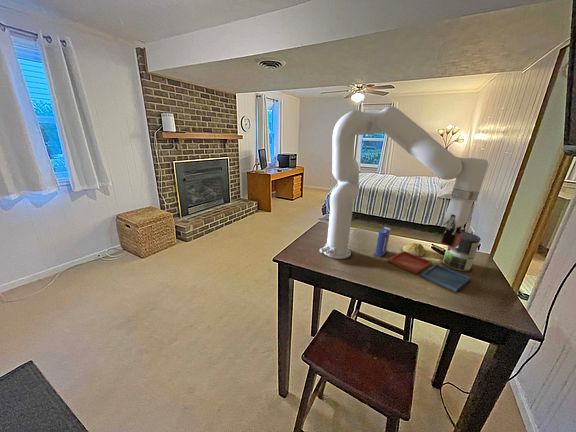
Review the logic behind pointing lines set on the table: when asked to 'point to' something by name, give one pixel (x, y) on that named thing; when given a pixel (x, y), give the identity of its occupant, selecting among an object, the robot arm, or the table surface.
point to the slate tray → (446, 277)
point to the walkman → (382, 241)
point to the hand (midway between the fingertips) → (450, 241)
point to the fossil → (414, 249)
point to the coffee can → (462, 252)
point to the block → (456, 239)
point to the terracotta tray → (410, 261)
